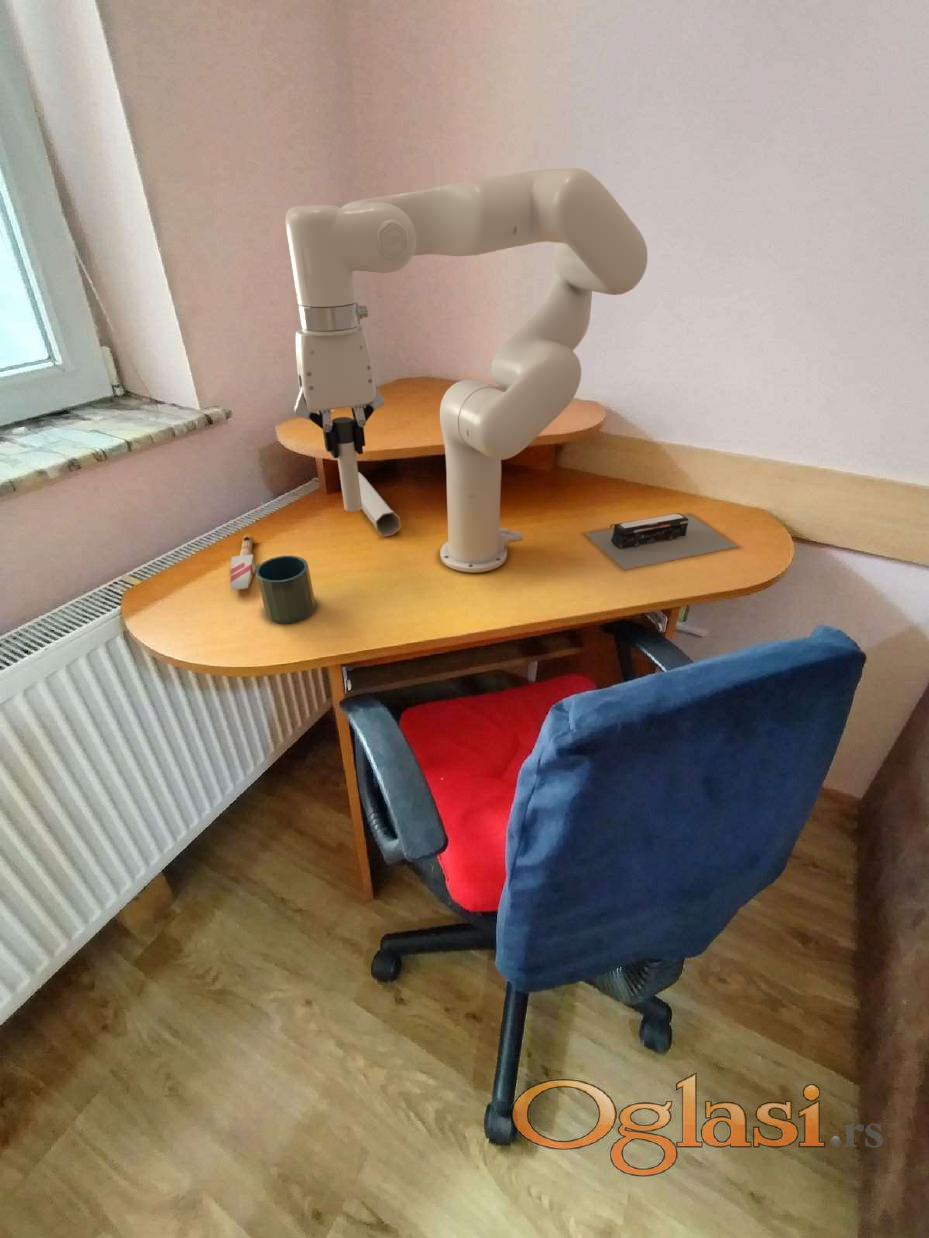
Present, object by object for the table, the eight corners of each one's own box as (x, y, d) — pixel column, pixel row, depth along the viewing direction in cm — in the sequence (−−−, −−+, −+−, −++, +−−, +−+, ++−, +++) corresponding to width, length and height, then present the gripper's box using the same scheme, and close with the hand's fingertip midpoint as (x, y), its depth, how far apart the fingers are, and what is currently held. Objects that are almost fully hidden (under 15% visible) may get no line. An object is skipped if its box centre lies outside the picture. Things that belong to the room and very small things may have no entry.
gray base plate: (586, 534, 120) (588, 515, 117) (691, 515, 126) (695, 496, 124) (624, 569, 108) (627, 549, 106) (737, 547, 115) (743, 527, 112)
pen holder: (309, 591, 103) (301, 551, 99) (320, 616, 98) (312, 574, 93) (262, 602, 101) (252, 562, 96) (270, 628, 95) (260, 586, 90)
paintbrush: (224, 583, 100) (237, 533, 116) (228, 596, 102) (240, 545, 118) (248, 580, 101) (257, 530, 117) (252, 594, 102) (260, 543, 118)
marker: (359, 502, 97) (349, 415, 88) (365, 510, 94) (354, 421, 86) (341, 506, 96) (329, 418, 87) (346, 513, 93) (334, 424, 85)
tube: (338, 475, 135) (371, 520, 116) (358, 464, 135) (395, 507, 117) (348, 495, 138) (381, 541, 120) (368, 484, 139) (405, 528, 120)
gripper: (379, 309, 84) (390, 437, 95) (261, 319, 79) (286, 453, 90) (397, 318, 79) (405, 453, 90) (271, 329, 73) (296, 471, 84)
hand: (346, 452), depth 90 cm, fingers closed on marker, 3 cm apart
